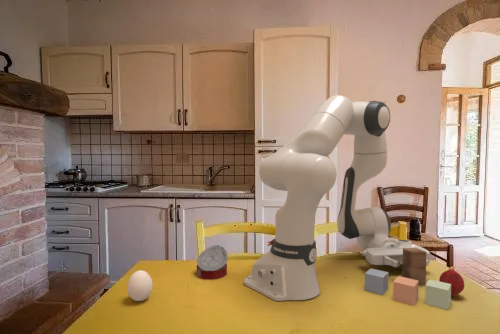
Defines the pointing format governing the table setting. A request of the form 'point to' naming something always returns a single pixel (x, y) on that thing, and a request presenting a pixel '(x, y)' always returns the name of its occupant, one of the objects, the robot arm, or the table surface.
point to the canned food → (212, 263)
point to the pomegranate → (453, 281)
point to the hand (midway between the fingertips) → (412, 264)
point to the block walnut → (414, 265)
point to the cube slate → (376, 281)
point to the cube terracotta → (405, 290)
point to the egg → (139, 285)
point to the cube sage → (438, 294)
